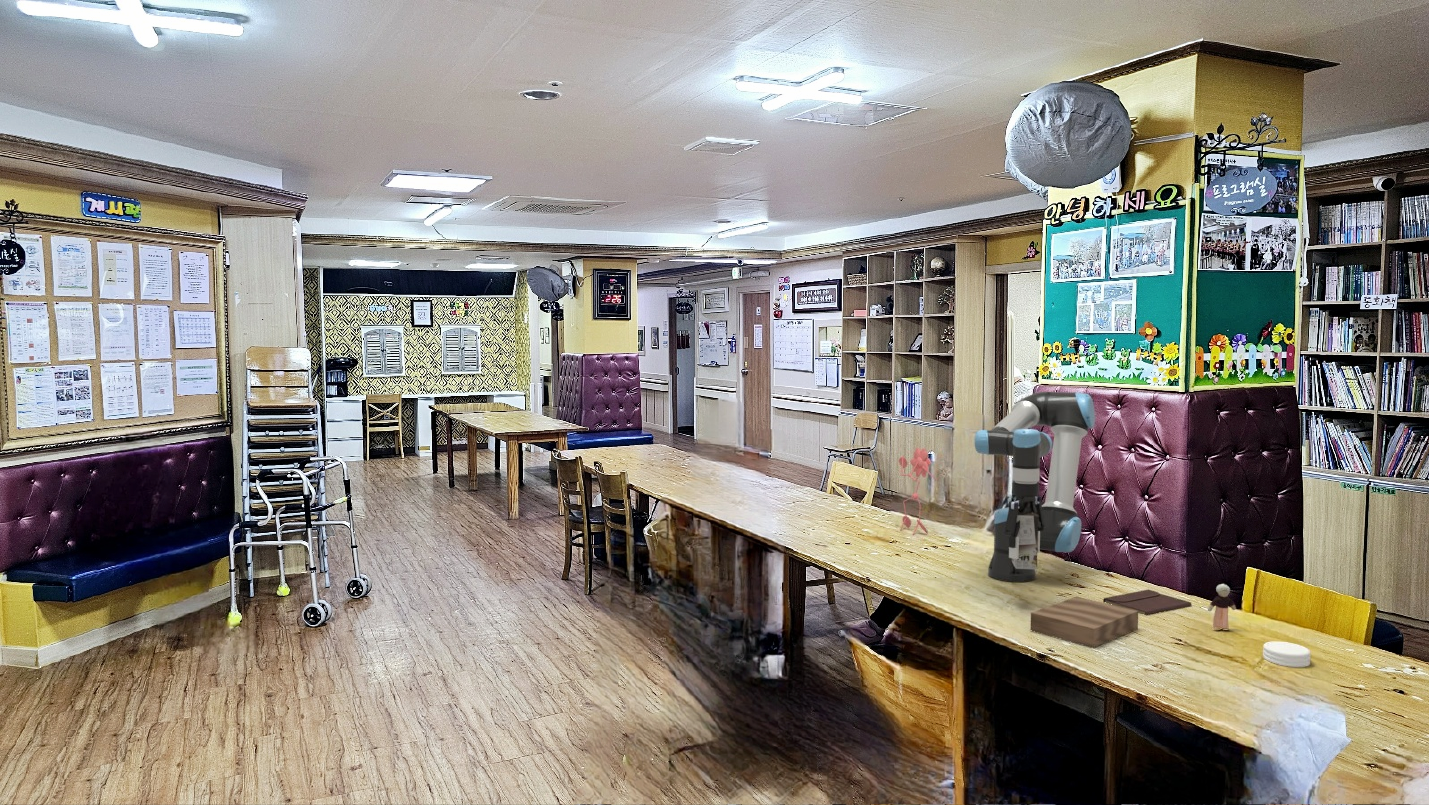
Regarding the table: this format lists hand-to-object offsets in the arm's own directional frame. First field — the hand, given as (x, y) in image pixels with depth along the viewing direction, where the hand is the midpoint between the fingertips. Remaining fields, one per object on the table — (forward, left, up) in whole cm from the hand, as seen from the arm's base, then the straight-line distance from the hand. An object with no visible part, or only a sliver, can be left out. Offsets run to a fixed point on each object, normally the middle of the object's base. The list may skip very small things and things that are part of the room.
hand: (1024, 555), depth 269 cm
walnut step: (+7, +23, -15) cm, 29 cm away
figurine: (-61, -85, -15) cm, 106 cm away
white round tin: (-9, +67, -16) cm, 69 cm away
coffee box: (0, 0, -3) cm, 3 cm away
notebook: (-30, +23, -16) cm, 41 cm away
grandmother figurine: (-22, +47, -15) cm, 54 cm away
